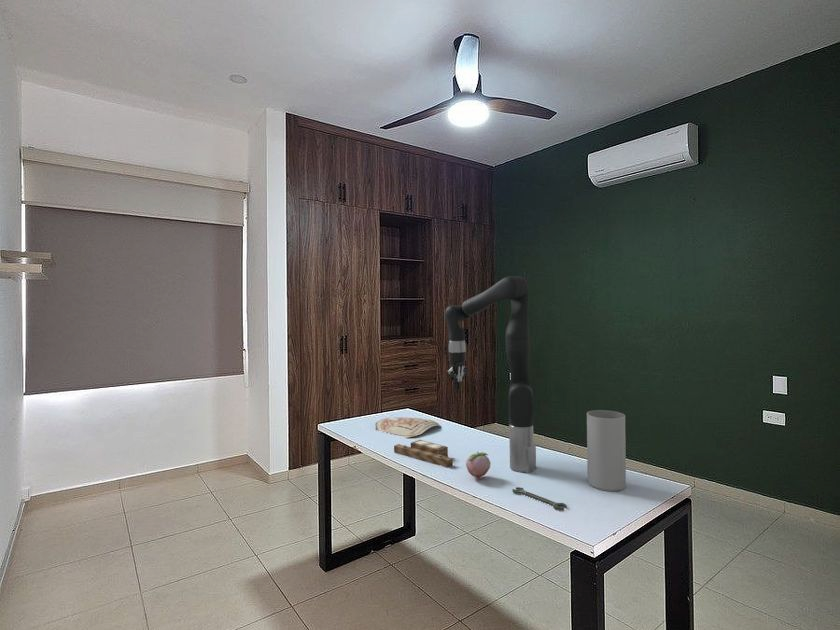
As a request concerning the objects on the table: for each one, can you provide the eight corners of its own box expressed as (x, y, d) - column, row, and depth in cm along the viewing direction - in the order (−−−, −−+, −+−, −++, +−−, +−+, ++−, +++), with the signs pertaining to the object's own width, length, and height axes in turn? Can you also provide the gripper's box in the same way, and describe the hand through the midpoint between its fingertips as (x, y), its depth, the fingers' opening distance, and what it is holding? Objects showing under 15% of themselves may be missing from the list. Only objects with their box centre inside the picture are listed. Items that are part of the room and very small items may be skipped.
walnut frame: (447, 458, 189) (447, 446, 189) (438, 462, 185) (438, 449, 185) (420, 450, 200) (419, 439, 200) (410, 454, 196) (410, 442, 196)
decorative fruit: (477, 471, 173) (476, 446, 173) (494, 477, 167) (493, 450, 167) (460, 478, 167) (460, 451, 167) (477, 484, 161) (477, 456, 161)
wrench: (518, 489, 157) (518, 486, 157) (569, 508, 141) (569, 505, 141) (509, 493, 154) (509, 489, 154) (561, 513, 138) (561, 509, 138)
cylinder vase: (582, 477, 165) (581, 410, 164) (617, 477, 165) (616, 410, 164) (594, 492, 152) (594, 419, 152) (632, 491, 152) (631, 418, 152)
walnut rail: (452, 465, 180) (452, 456, 180) (448, 467, 178) (447, 458, 178) (398, 450, 200) (398, 442, 200) (394, 452, 198) (394, 444, 198)
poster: (369, 436, 235) (414, 444, 217) (367, 424, 234) (413, 431, 216) (402, 420, 257) (446, 426, 239) (401, 410, 257) (445, 415, 238)
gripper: (459, 349, 205) (459, 386, 205) (441, 351, 195) (441, 391, 195) (472, 349, 200) (473, 388, 200) (455, 352, 190) (455, 393, 191)
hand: (457, 389), depth 198 cm, fingers closed
